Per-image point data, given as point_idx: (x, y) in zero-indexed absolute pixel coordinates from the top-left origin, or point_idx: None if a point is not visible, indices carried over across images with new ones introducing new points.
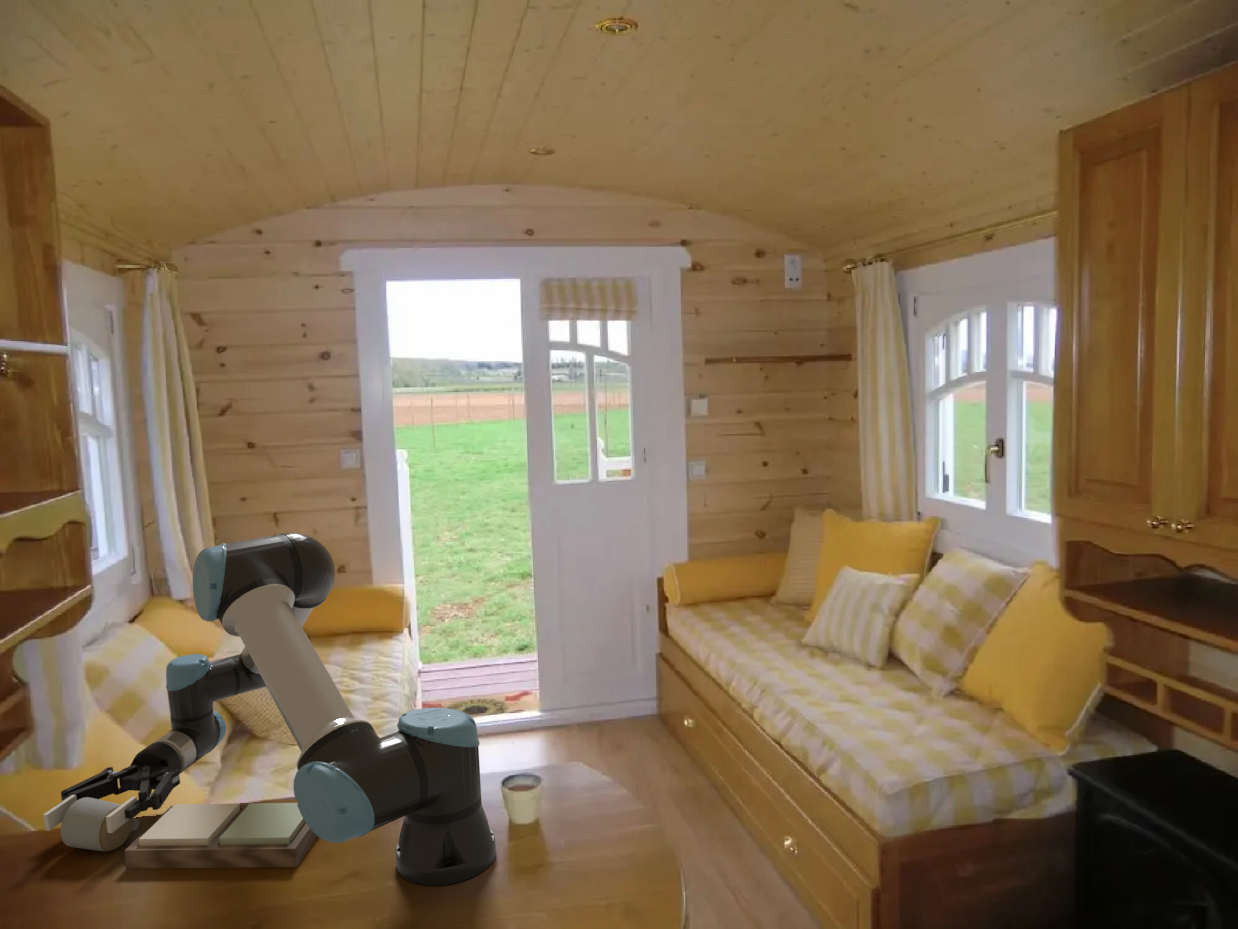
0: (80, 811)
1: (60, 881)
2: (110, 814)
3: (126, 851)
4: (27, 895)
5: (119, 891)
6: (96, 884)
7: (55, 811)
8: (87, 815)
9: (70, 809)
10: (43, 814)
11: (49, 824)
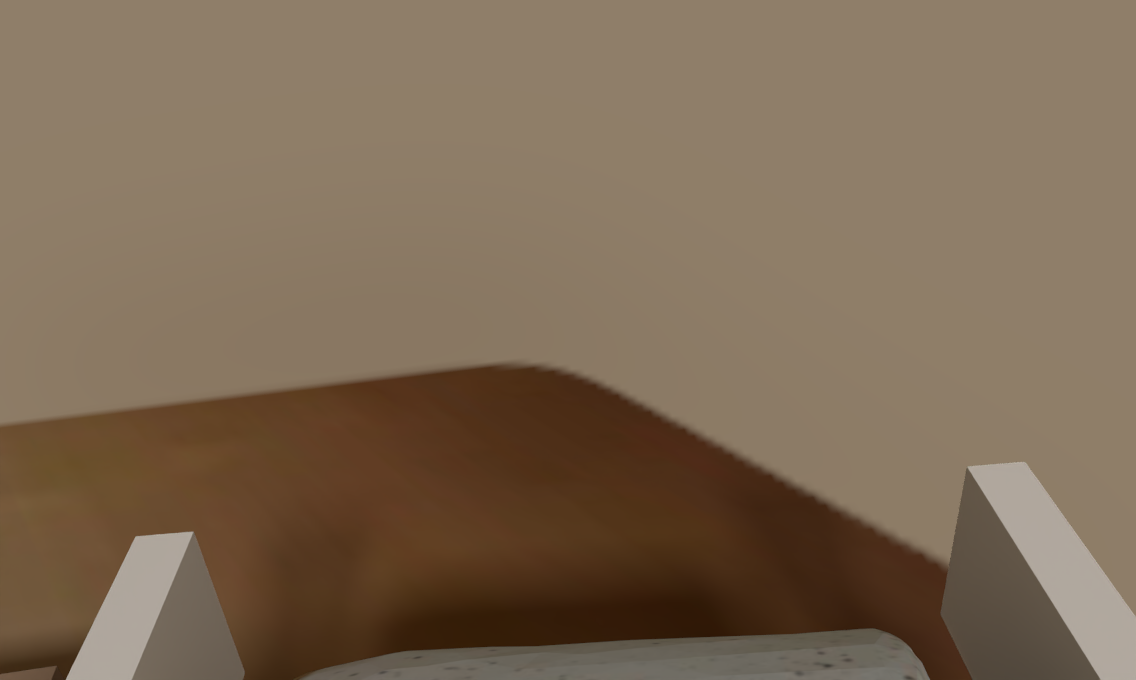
0: (688, 654)
1: (544, 583)
2: (152, 572)
3: (44, 676)
4: (634, 466)
5: (79, 567)
6: (267, 596)
7: (1021, 582)
8: (548, 649)
9: (859, 642)
10: (1023, 462)
11: (956, 574)
